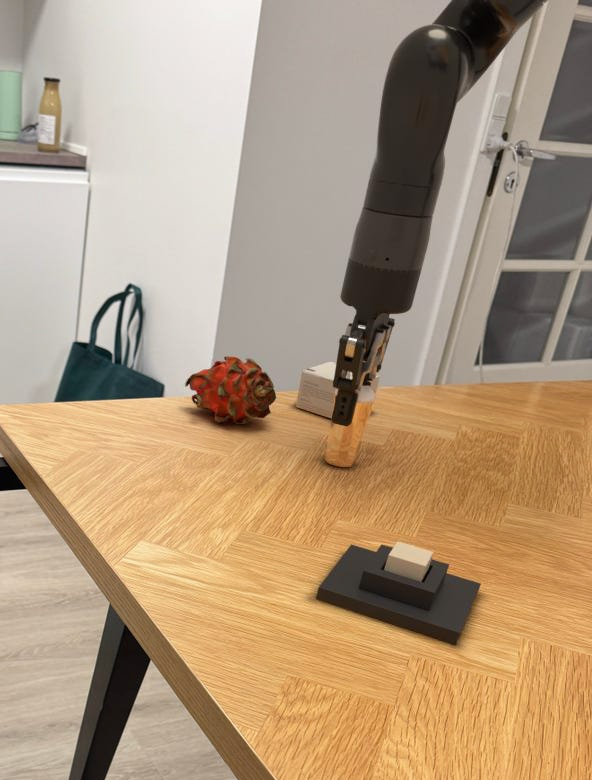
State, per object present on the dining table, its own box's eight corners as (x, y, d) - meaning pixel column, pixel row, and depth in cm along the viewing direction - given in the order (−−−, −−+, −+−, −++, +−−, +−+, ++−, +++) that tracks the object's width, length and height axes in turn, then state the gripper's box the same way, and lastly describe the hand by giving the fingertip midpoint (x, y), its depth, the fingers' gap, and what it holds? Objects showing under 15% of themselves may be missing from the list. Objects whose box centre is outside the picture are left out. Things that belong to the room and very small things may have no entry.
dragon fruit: (272, 446, 111) (184, 436, 116) (292, 392, 114) (205, 385, 119) (260, 401, 104) (167, 392, 109) (282, 345, 107) (190, 339, 112)
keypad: (477, 594, 80) (487, 565, 78) (455, 645, 73) (467, 614, 71) (348, 555, 84) (355, 526, 83) (315, 598, 77) (323, 568, 75)
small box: (372, 412, 121) (382, 375, 118) (344, 424, 116) (353, 385, 113) (323, 396, 125) (331, 360, 122) (293, 407, 120) (301, 369, 117)
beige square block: (428, 569, 78) (434, 551, 77) (420, 584, 75) (426, 565, 74) (392, 558, 79) (397, 540, 78) (383, 572, 76) (388, 554, 75)
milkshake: (346, 453, 107) (367, 370, 102) (364, 470, 103) (387, 384, 97) (311, 452, 106) (330, 368, 101) (327, 469, 102) (348, 382, 97)
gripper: (405, 275, 85) (362, 444, 95) (436, 256, 96) (394, 410, 106) (330, 261, 88) (296, 426, 98) (368, 245, 99) (334, 395, 108)
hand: (347, 417), depth 102 cm, fingers closed on milkshake, 4 cm apart
